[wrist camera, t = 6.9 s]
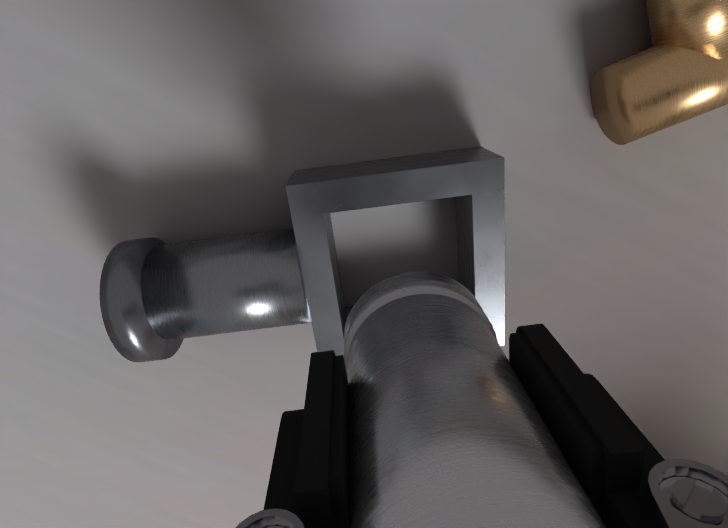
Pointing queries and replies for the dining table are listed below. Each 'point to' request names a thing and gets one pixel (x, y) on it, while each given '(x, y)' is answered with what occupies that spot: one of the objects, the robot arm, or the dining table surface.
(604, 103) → the bronze tee
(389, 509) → the silver capped cylinder
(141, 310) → the grey framed piece
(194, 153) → the dining table surface
